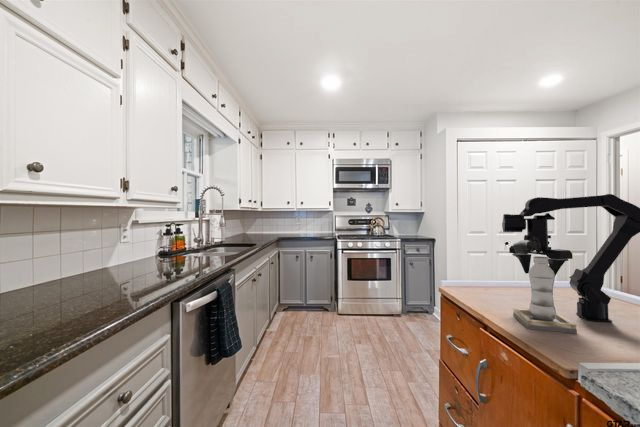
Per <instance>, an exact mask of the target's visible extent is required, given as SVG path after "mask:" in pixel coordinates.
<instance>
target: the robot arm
mask: <svg viewBox="0 0 640 427" xmlns="http://www.w3.org/2000/svg"><path fill="white" fill-rule="evenodd" d="M524 207H525V208H523V209H522V211H520V213H519V214H509V213H504V214H503V215H502V223H501V228H502V232H503V233H523V231H525V230H527V234H524V236H523V240H522V239H521V240H519V241H517V242H515V243H513V244H512V245H511V246H510V247H509V248H508V251H509V254H511V255H512V256H514V257H516V258H517V259H518V261H519V262H520V265H521V267H522V269H523V271H524V273H525V274H529V270H530V268H531V261H532V255H539V256H540V255H541V256H545V257H548V262H549V263H548V266H549V267H550V268H551V269H552V270H553V271H554V274H555V277H557V276H556V275H557V274H558V272H559V271H560V269H561V267H562V266H563V265H564V263H565V262H569V260H573V259H574V258H573V252H572V251H571V250H569V249H560V248H554V249H552V247H551V246H549V239H551V238H552V235H549V233H548V231H549V230H548V220H549V221H551V220H553V221H554V220H556V218H555V217H554V216H553V215H551V214H550V212H553V211H558V210H564V209H580V208H591V207H594V208H595V207H601V208H603V209H604V210H605V211H607V213H608V214H610V215H612V216H613V217H615V218H614V221H613V226H612V231H611V233H610V234H609V236H608V237H607V238H606V240H605V241H604V242H603V244H602V245H601V247H600V248H599V250H598V251H597V252H596V254H595V255H594V256H593V258H592V260H590V262H589V264H588V265H587V266H586V267H584V268H583V269H580V268H575V270H574V272H573V273H572V275H571V276H569V285H570V288H571V289H572V290H574V291H575V292H576V293H577V295H578V296H579V297H578V301H577V302H576V312H575V314H576V315H577V316H580V317H581V318H583V319H585V321H593V322H607V323H613V320H612V319H610V318H609V317H610V316H609V304H610V301H611V300H612V298H611V296H609V295H608V294H606V292H604V290H602V289H603V285H604V282H605V275H606V273H607V272H608V271H609V269H610V268H611V266H612V265H613V264H614V263H615V261H616V259H617V258H618V257H619V256H620V254H621V253H622V252H623V250H624V249H625V247H626V246H627V244H629V242H630V241H631V239H632V238H633V237H635V236H636V235H638V234H640V207H639V206H637V205H636V204H633V203H630V202H629V201H626V200H624V199H621V198H620V197H618V196H616V195H615V194H612V193H607V194H602V195H601V194H600V195H593V196H592V195H590V196H580V197H578V196H577V197H567V198H555V197H541V196H540V197H534V198H530V199H528V200H527V201H526V202H525V204H524ZM539 214H540V215H539ZM532 216H533V218H531V217H532ZM526 217H530V218H526Z"/></svg>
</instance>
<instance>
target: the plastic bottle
mask: <svg viewBox="0 0 640 427" xmlns="http://www.w3.org/2000/svg"><path fill="white" fill-rule="evenodd" d="M548 259H549V258H548V257H547V256H540V255H539V256H533V261H532V263H533V265H532V266H530V269H529V273H528V278H529V283H530V284H529V285H530V303H529V306H528V310H529V312H530V315H531V316H532V317H533V318H535V319H539V320H544V321H553V320H554V319H555V317H556V312H557V310H556V307H555V300H554V286H555V285H554V284H555V278H556V276H555V274H554V271H553V270H552V269H551V268H550V267H549V262H548Z"/></svg>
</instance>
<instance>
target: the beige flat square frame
mask: <svg viewBox="0 0 640 427" xmlns="http://www.w3.org/2000/svg"><path fill="white" fill-rule="evenodd" d="M512 315H513V316H514V317H515V319H517V320H518V321H519V322H520V323H522V325H523V326H524V327H525V328H527V330H528V329H530V330H539V331H549V332H557V333H558V332H559V333H569V334H578V329H577V324H575V323H574V322H572V321H571V320H569V319H568V318H566V317H565V316H563V315H561V314H560V313H559V312H557V311H556V317H555V319H554V320H553V321H544V320H539V319H535V318H533V317H532V316H531V315H530V312H529V308H528V309H527V308H526V309H524V308H513V314H512Z"/></svg>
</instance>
